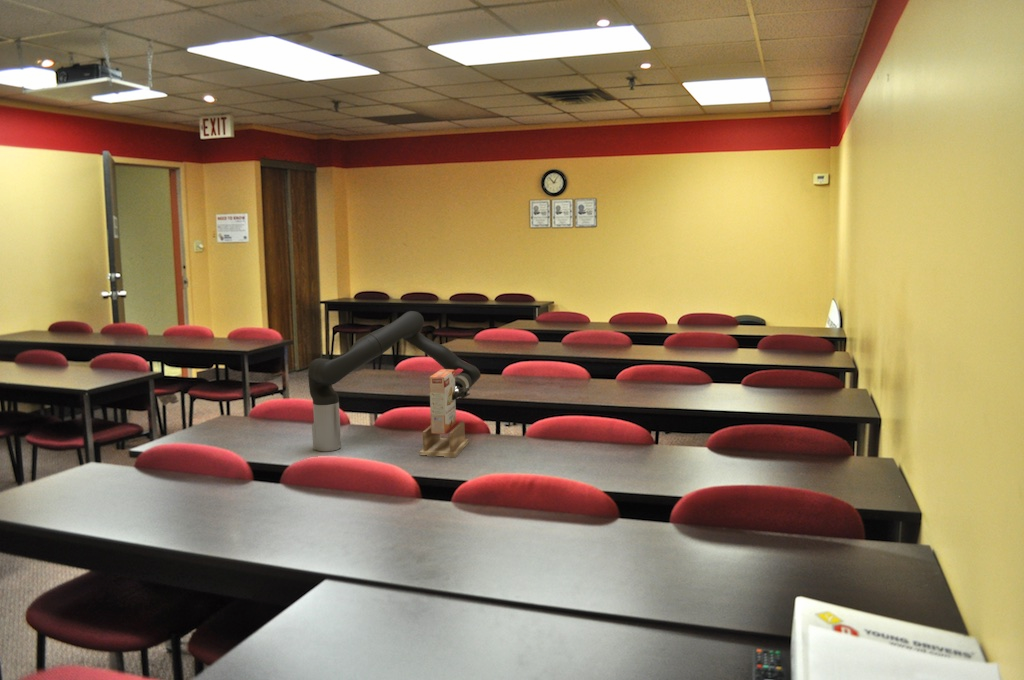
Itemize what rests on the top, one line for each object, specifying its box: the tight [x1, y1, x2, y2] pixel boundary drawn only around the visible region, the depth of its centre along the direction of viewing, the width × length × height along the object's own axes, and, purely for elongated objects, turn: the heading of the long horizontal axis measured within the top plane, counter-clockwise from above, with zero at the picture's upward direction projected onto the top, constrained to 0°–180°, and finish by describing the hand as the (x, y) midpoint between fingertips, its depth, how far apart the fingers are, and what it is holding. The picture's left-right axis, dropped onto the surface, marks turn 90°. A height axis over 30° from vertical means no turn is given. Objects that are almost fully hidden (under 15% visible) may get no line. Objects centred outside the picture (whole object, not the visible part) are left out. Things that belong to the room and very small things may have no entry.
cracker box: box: [429, 368, 457, 435], centre depth 278 cm, size 14×6×21 cm, turn 168°
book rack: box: [419, 420, 469, 458], centre depth 280 cm, size 13×18×8 cm
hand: (444, 397), depth 279 cm, fingers closed on cracker box, 6 cm apart
